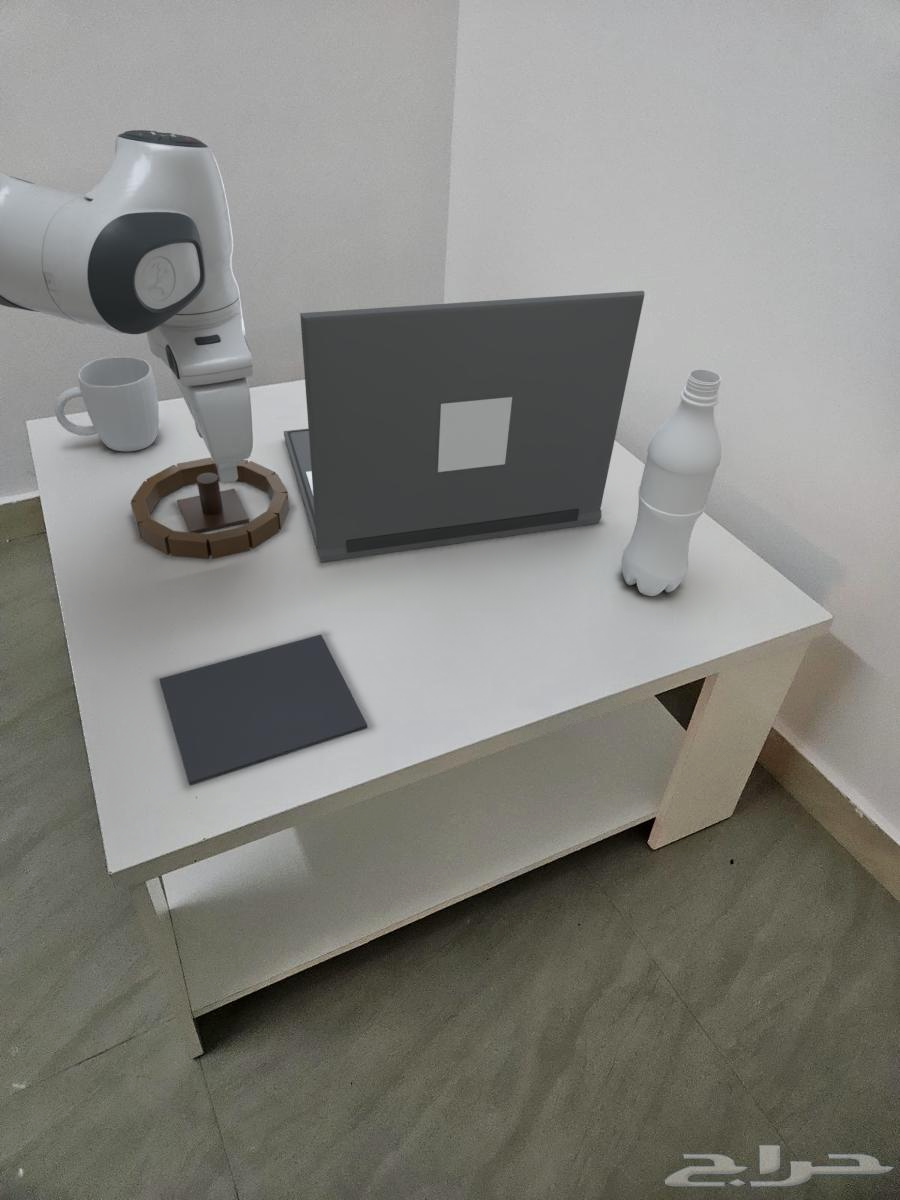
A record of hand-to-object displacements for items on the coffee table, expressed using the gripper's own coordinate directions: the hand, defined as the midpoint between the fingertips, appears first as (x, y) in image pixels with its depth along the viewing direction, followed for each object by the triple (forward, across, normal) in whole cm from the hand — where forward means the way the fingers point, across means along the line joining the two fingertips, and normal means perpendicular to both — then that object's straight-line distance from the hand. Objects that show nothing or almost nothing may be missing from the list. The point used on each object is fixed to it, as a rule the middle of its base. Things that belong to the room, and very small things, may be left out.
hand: (216, 456), depth 85 cm
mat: (+12, +24, -3) cm, 27 cm away
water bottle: (+13, +23, +42) cm, 49 cm away
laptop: (+13, -5, +28) cm, 31 cm away
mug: (+13, -29, -8) cm, 33 cm away
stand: (+12, -8, 0) cm, 15 cm away
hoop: (+12, -8, 0) cm, 15 cm away
